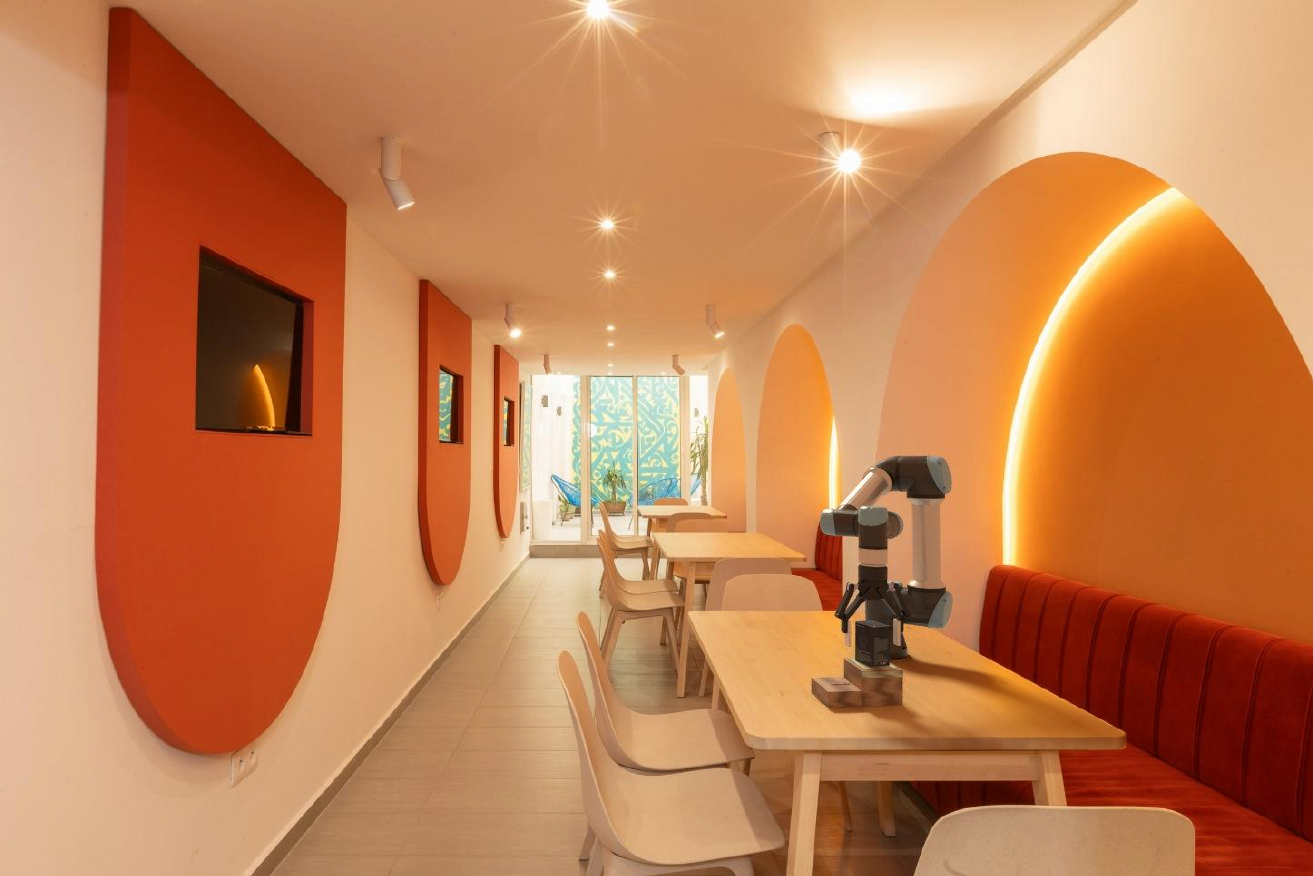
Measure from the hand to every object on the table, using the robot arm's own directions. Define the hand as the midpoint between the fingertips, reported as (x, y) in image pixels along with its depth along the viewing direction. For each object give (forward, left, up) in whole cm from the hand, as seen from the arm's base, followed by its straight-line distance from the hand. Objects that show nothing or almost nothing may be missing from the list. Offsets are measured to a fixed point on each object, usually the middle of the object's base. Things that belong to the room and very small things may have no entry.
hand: (872, 645), depth 194 cm
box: (0, 0, -5) cm, 5 cm away
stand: (+5, 0, -14) cm, 15 cm away
